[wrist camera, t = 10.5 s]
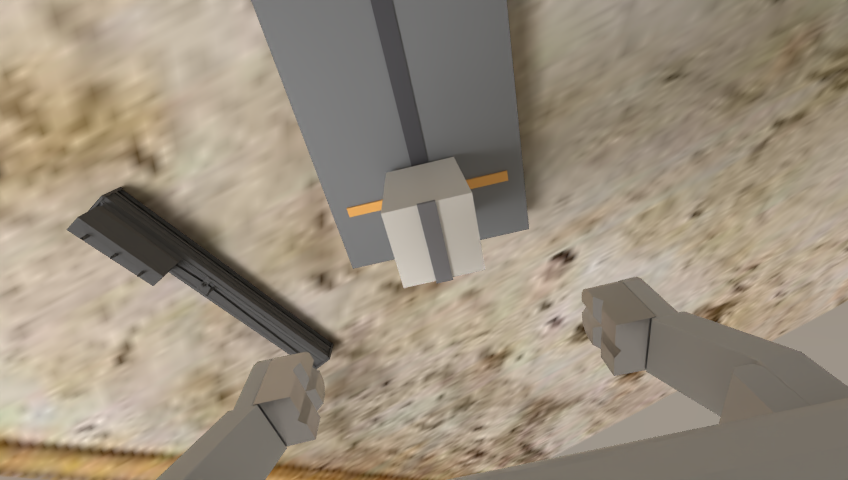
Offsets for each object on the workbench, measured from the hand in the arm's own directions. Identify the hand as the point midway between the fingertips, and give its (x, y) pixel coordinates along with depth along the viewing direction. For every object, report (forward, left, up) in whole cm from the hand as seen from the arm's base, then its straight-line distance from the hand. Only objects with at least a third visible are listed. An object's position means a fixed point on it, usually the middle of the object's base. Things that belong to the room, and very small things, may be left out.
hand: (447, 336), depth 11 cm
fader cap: (0, 0, -12) cm, 12 cm away
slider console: (-7, 0, -15) cm, 17 cm away
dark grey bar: (+5, -15, -16) cm, 23 cm away
